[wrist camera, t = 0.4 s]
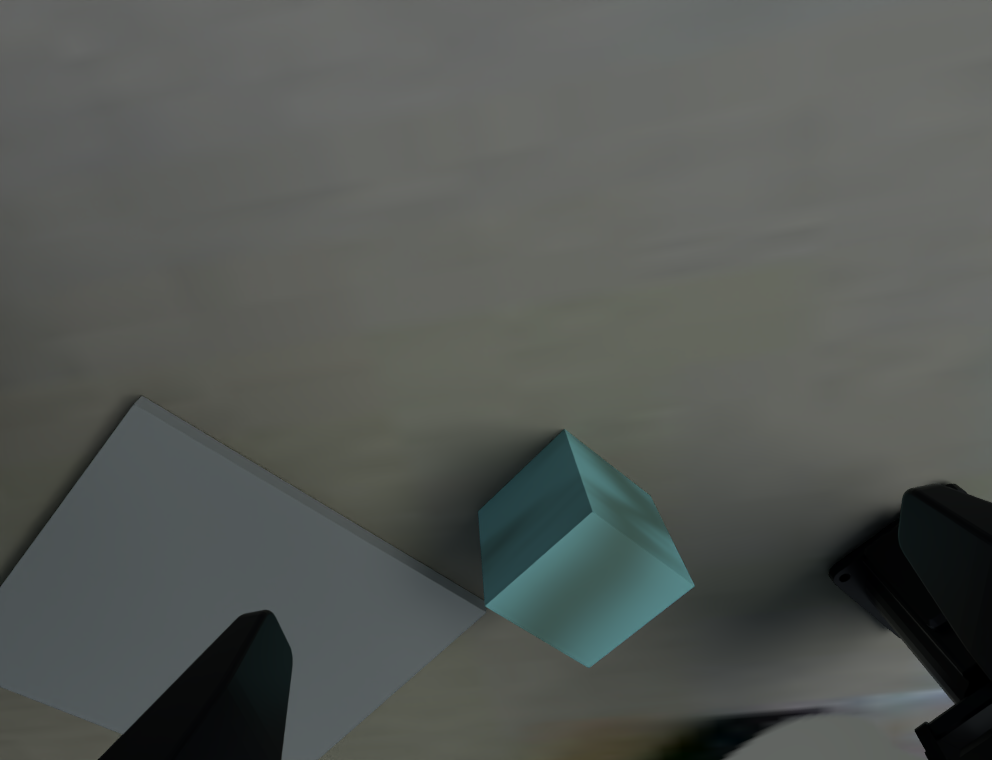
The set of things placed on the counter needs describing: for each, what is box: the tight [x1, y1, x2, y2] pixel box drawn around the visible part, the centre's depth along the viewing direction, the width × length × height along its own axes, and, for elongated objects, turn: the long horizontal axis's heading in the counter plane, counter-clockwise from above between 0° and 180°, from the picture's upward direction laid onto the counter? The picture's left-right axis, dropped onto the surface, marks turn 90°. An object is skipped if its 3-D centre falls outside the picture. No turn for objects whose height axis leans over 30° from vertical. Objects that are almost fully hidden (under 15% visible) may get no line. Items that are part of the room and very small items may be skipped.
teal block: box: [478, 429, 695, 668], centre depth 22 cm, size 5×5×5 cm
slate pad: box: [0, 396, 486, 760], centre depth 26 cm, size 16×16×1 cm
